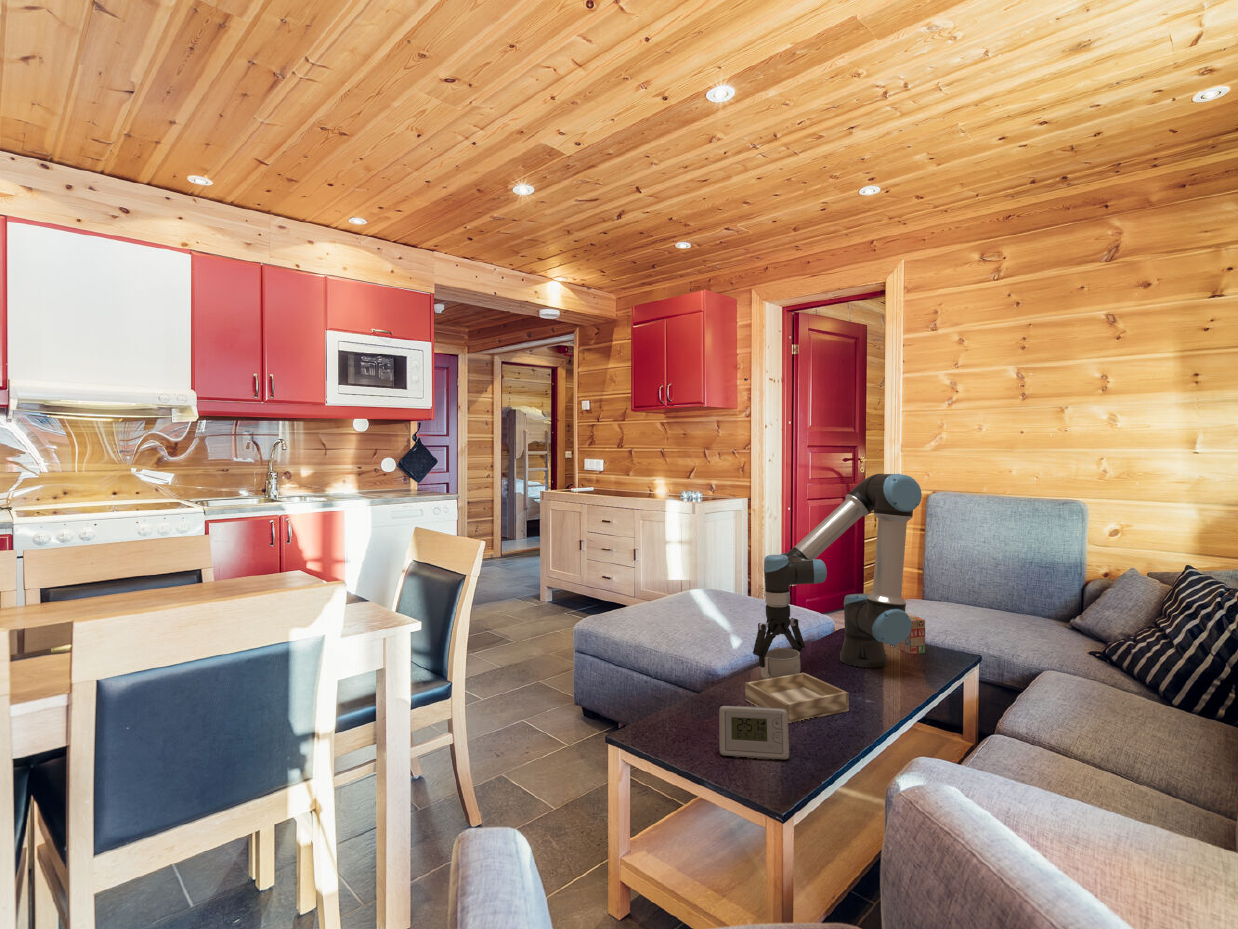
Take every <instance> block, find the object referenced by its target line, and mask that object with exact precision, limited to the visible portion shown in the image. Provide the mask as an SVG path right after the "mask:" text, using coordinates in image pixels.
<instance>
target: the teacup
mask: <svg viewBox="0 0 1238 929" xmlns="http://www.w3.org/2000/svg"><path fill="white" fill-rule="evenodd" d="M766 657H768V676H770V677H771V678H776V677H781V676H787V675H793V674H798V673H801V652H799V651H797V650H795V649H793V648H789V647H779V646H774V648H771V649H768V652H767V654H766Z"/></svg>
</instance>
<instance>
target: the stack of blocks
mask: <svg viewBox="0 0 1238 929" xmlns="http://www.w3.org/2000/svg"><path fill="white" fill-rule="evenodd" d="M906 613H907V614H908V616H909V617H910V619H911V623H912V627H911V631H910V634H909V635H908V637H907V638H906V639H904V640H903V641H902V642H901V643H898V644H894V645H892V646H891V647H893V646H894V647H893V648H895V647H896V649H897V648H898V649H897V650H900V651H902V652H904V653H906V652H907V653H906V654H908V653H909V655H920V654H926V619H924V618H921V617H919V616H917V615H913V614H911V613H908V612H906Z"/></svg>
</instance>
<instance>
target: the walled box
mask: <svg viewBox="0 0 1238 929" xmlns="http://www.w3.org/2000/svg"><path fill="white" fill-rule="evenodd" d="M744 688H745V689H744V691H745V693H744V694H745V701H746V702H749V704H751V705H753V704H754V705H753V706H754V707H769V708H776V709H785V710H786V711H787V715H788V723H789V724H792V722H793V723H797V721H798V722H802V721H801V720H803V721H805V720H804V719H808V720H810V719H809V718H812V719H815V718H814V717H817V718H821V717H826V716H831V715H834V714H840V713H845V712H846V713H847V712H849V711H850V706H849V705H850V702H849V700H850V698H849V691H848V692H847V691H846V690H843V689H841V688H839V687H837V686H835V685H832V684H830V683H828V682H826V681H824V680H821V679H819V678H817V677H814V676H812V675H810V674H808V673H805V672H800V673H798V674H793V675H787V676H781V677H776V678H773V677H771V678H767V679H766V678H764V679H760V680H754V681H748V682H745V684H744Z"/></svg>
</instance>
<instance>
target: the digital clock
mask: <svg viewBox="0 0 1238 929" xmlns="http://www.w3.org/2000/svg"><path fill="white" fill-rule="evenodd" d="M718 711H719V713H718V714H719V715H718V716H719V719H718V722H719V723H718V724H719V732H718V733H719V735H718V736H719V739H718V740H719V744H718V745H719V753H720V755H722V756H725V757H726V756H727V757H734V758H739V757H747V758H746V759H754V758H757V760H758V759H759V760H769V759H772V761H773V760H787V759H789V758H790V743H789V742H790V740H789V737H790V736H789V724H788V715H787V711H786V710H785V709H776V708H769V707H757V706H748V705H747V706H745V705H744V706H743V705H736V706H735V705H734V706H733V705H722V706H720V707H719V710H718Z"/></svg>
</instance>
